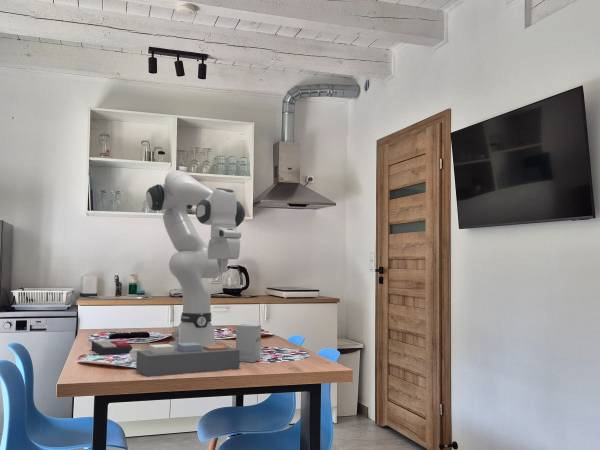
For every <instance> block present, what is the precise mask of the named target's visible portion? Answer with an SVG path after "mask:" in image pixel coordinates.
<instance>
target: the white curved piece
mask: <svg viewBox="0 0 600 450" xmlns="http://www.w3.org/2000/svg"><path fill="white" fill-rule="evenodd" d="M137 351H141V349H140V348H132V350H131V351H130V354H129V356H130V359H131V360H132V362H136V361H137ZM128 359H129V358H127V359H124V360H123V362H126V360H127V363H131V361H130V360H128Z"/></svg>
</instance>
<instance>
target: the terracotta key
mask: <svg viewBox="0 0 600 450" xmlns="http://www.w3.org/2000/svg"><path fill="white" fill-rule="evenodd" d="M225 346H226V345H221V344H217V345H212V346H203V349H206V350H209V351H214V350H227V347H225Z"/></svg>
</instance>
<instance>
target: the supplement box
mask: <svg viewBox="0 0 600 450" xmlns="http://www.w3.org/2000/svg"><path fill="white" fill-rule="evenodd" d="M261 334H262V324H260V323H240V324H237V325H236V329H235V349H237V350H239V363H240V362H242V363H256V362H257V361H259V360H261V337H262V335H261Z"/></svg>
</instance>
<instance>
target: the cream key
mask: <svg viewBox="0 0 600 450" xmlns="http://www.w3.org/2000/svg"><path fill="white" fill-rule="evenodd" d="M148 350H149V352H150V353H152V354H167V353H174V346H172V345H169V343H166V344H165V343H161V344H149V346H148Z"/></svg>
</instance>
